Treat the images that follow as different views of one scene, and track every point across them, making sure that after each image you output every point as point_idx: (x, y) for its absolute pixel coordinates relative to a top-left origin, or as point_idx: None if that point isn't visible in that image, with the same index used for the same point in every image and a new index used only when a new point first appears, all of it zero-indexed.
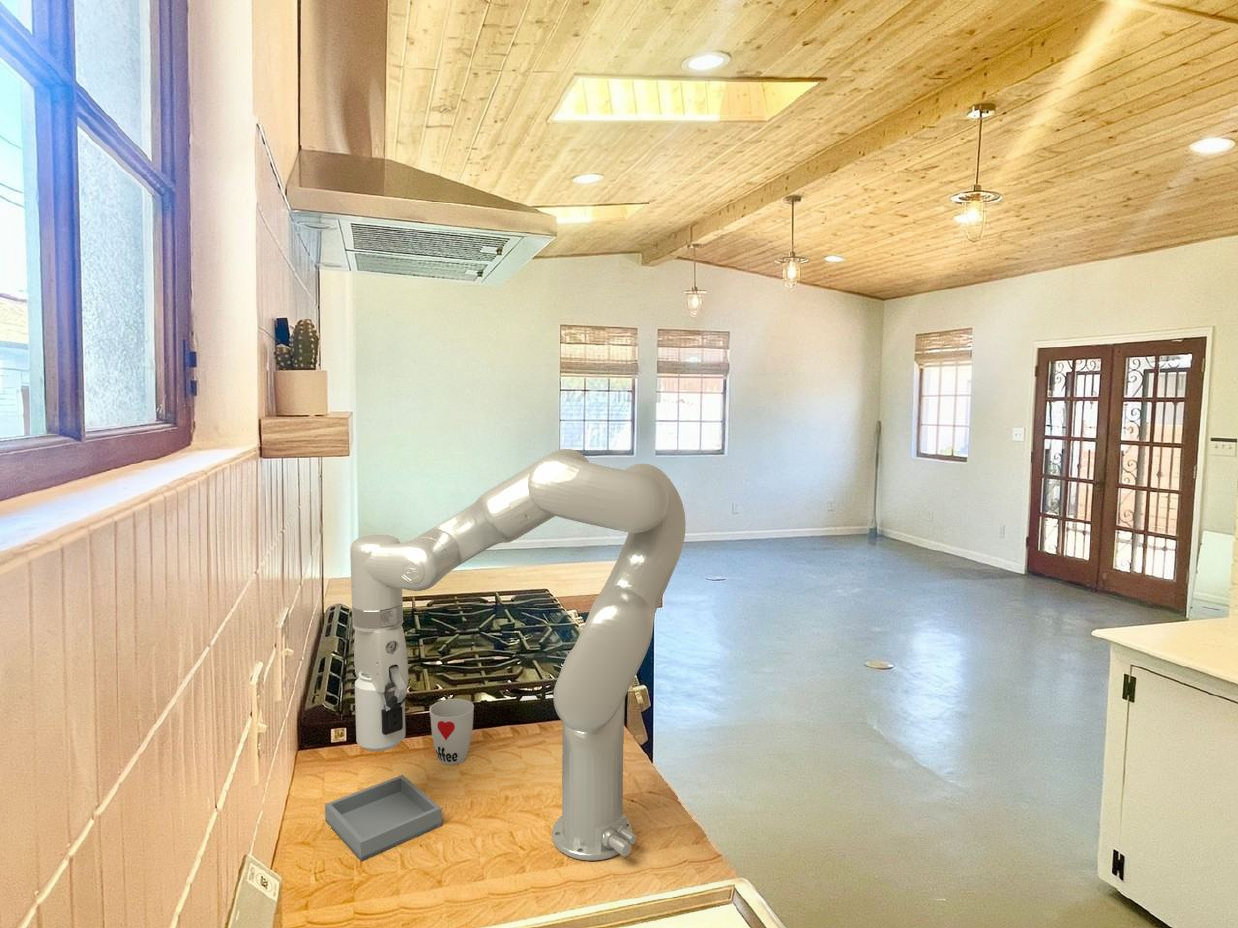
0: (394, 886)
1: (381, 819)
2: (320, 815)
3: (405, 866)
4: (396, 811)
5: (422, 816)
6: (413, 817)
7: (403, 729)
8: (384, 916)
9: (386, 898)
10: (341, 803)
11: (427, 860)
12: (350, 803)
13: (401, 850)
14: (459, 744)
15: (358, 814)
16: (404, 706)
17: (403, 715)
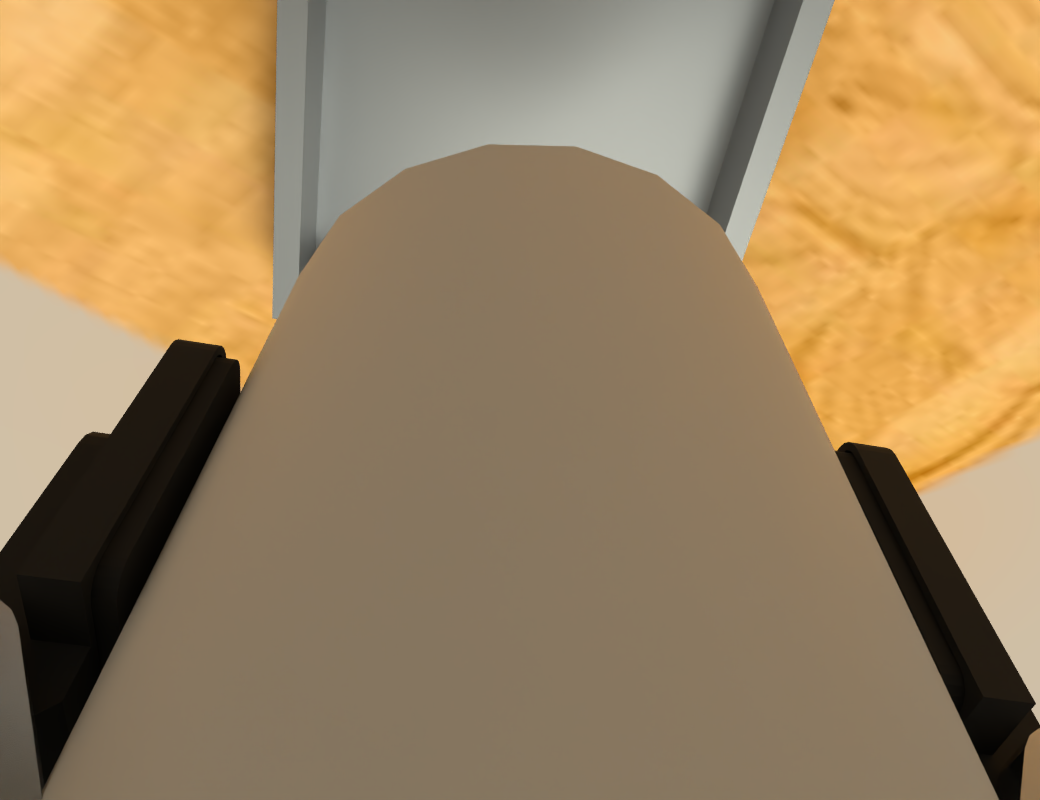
0: (925, 345)
1: (515, 119)
2: (228, 262)
3: (882, 248)
4: (517, 15)
5: (812, 59)
6: (771, 101)
7: (770, 319)
8: (997, 446)
9: (941, 396)
10: (302, 243)
11: (951, 161)
12: (310, 190)
13: (782, 190)
14: None
15: (380, 167)
16: (823, 448)
17: (811, 411)
